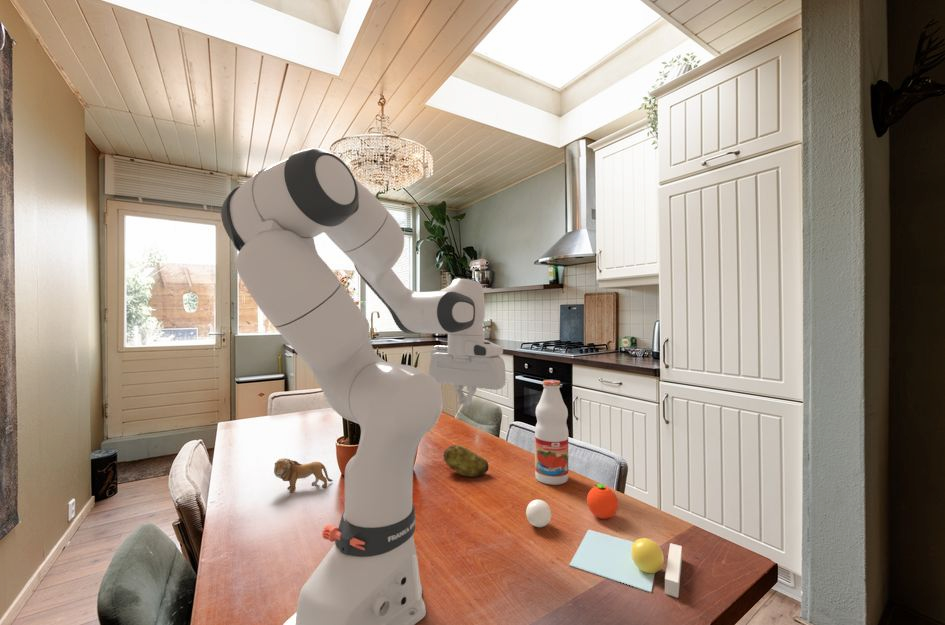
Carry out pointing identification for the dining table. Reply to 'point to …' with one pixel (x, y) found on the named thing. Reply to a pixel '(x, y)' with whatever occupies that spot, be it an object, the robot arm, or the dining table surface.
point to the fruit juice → (551, 436)
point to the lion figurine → (299, 472)
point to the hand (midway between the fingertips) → (464, 404)
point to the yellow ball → (647, 555)
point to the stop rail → (673, 570)
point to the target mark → (611, 560)
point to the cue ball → (538, 513)
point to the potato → (465, 461)
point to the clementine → (602, 501)
